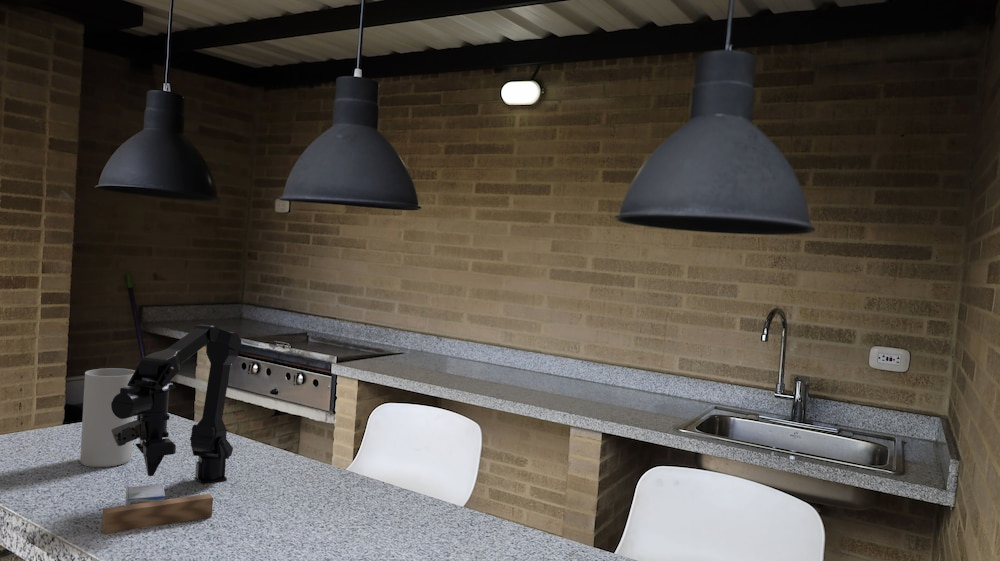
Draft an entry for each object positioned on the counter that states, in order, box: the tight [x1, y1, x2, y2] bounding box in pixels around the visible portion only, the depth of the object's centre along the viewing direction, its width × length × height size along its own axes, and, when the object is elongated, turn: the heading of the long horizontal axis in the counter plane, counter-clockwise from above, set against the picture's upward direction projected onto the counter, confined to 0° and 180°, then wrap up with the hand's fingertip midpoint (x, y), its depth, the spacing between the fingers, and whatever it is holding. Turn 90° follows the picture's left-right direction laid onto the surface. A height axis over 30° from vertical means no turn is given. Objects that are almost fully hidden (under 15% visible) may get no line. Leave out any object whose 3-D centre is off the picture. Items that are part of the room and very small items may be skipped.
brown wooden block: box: [101, 493, 214, 535], centre depth 157 cm, size 22×3×4 cm, turn 128°
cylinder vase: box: [79, 367, 135, 468], centre depth 195 cm, size 12×12×25 cm
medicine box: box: [125, 483, 166, 505], centre depth 163 cm, size 8×4×9 cm
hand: (150, 475), depth 165 cm, fingers closed
